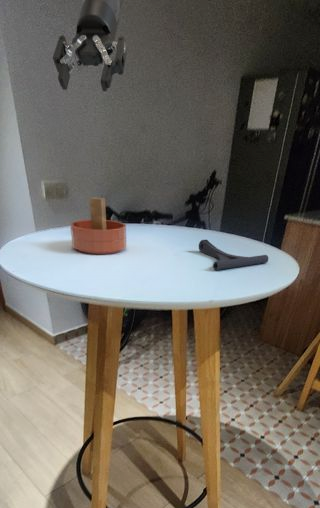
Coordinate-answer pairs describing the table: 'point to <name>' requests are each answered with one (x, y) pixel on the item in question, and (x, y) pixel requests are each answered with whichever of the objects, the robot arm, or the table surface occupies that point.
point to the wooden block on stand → (98, 213)
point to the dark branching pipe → (229, 257)
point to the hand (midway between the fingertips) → (83, 86)
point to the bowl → (98, 237)
